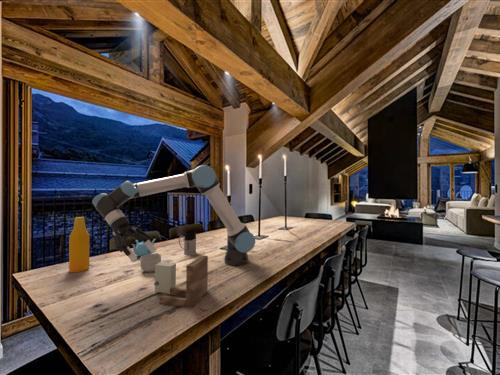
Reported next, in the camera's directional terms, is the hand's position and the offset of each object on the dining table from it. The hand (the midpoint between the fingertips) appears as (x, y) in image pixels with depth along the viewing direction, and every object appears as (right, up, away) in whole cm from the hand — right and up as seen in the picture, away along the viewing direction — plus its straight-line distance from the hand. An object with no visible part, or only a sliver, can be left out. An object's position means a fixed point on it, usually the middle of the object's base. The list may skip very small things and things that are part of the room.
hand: (145, 255), depth 108 cm
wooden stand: (+20, -15, -8) cm, 26 cm away
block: (+10, -15, -2) cm, 18 cm away
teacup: (-7, -15, +24) cm, 29 cm away
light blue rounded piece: (-23, -15, +49) cm, 56 cm away
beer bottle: (-47, -15, +23) cm, 54 cm away
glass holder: (+5, -15, +53) cm, 55 cm away
